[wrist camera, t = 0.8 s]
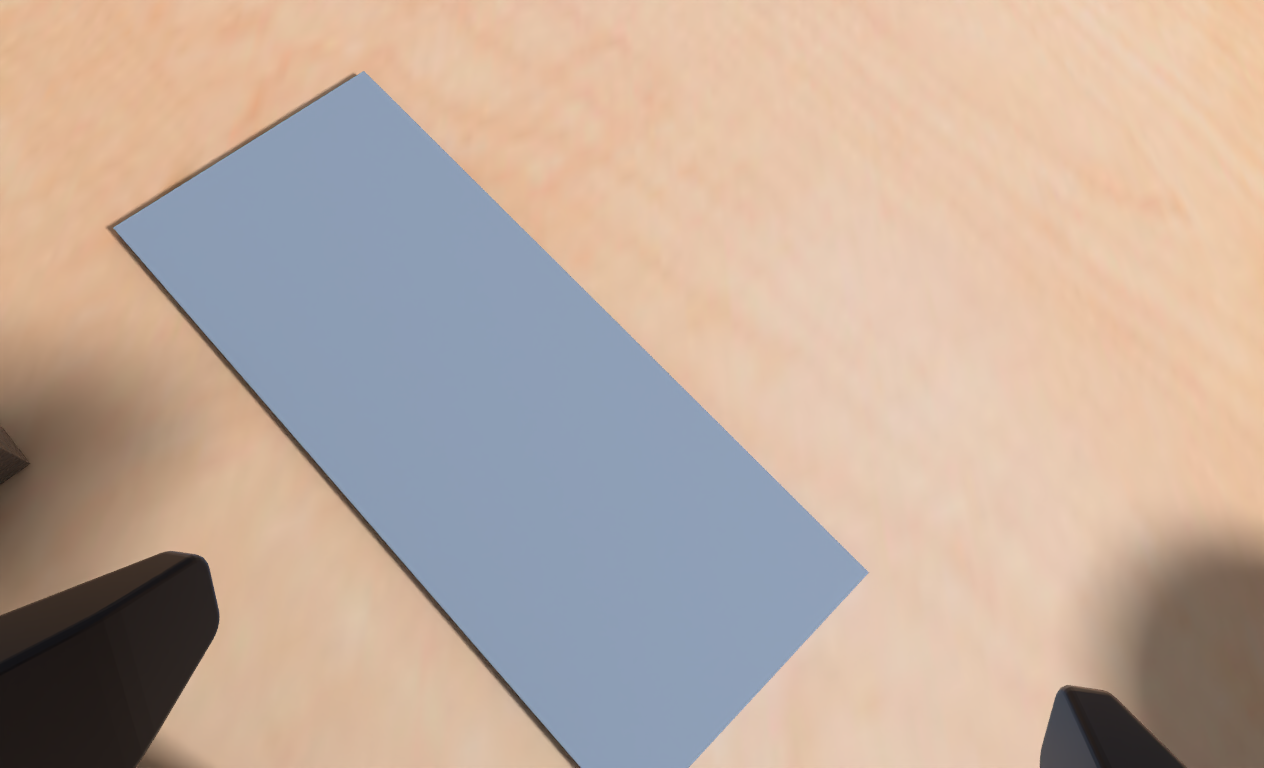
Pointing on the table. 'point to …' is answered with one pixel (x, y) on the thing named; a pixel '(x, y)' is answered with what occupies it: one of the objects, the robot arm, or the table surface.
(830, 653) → the table surface
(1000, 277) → the table surface
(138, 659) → the robot arm
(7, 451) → the stand
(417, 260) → the mat
